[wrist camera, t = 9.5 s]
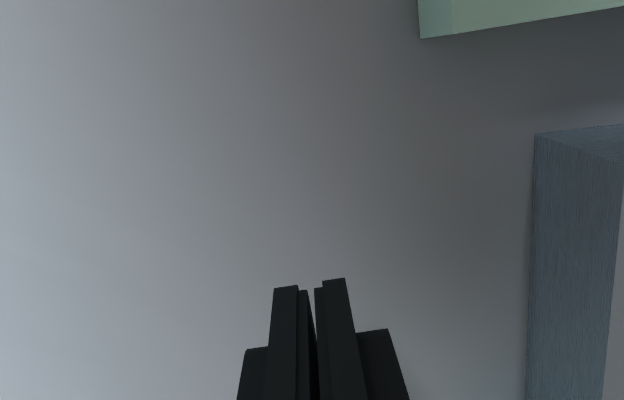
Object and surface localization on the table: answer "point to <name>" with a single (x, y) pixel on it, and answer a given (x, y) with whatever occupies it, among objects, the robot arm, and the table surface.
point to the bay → (496, 13)
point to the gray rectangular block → (577, 266)
